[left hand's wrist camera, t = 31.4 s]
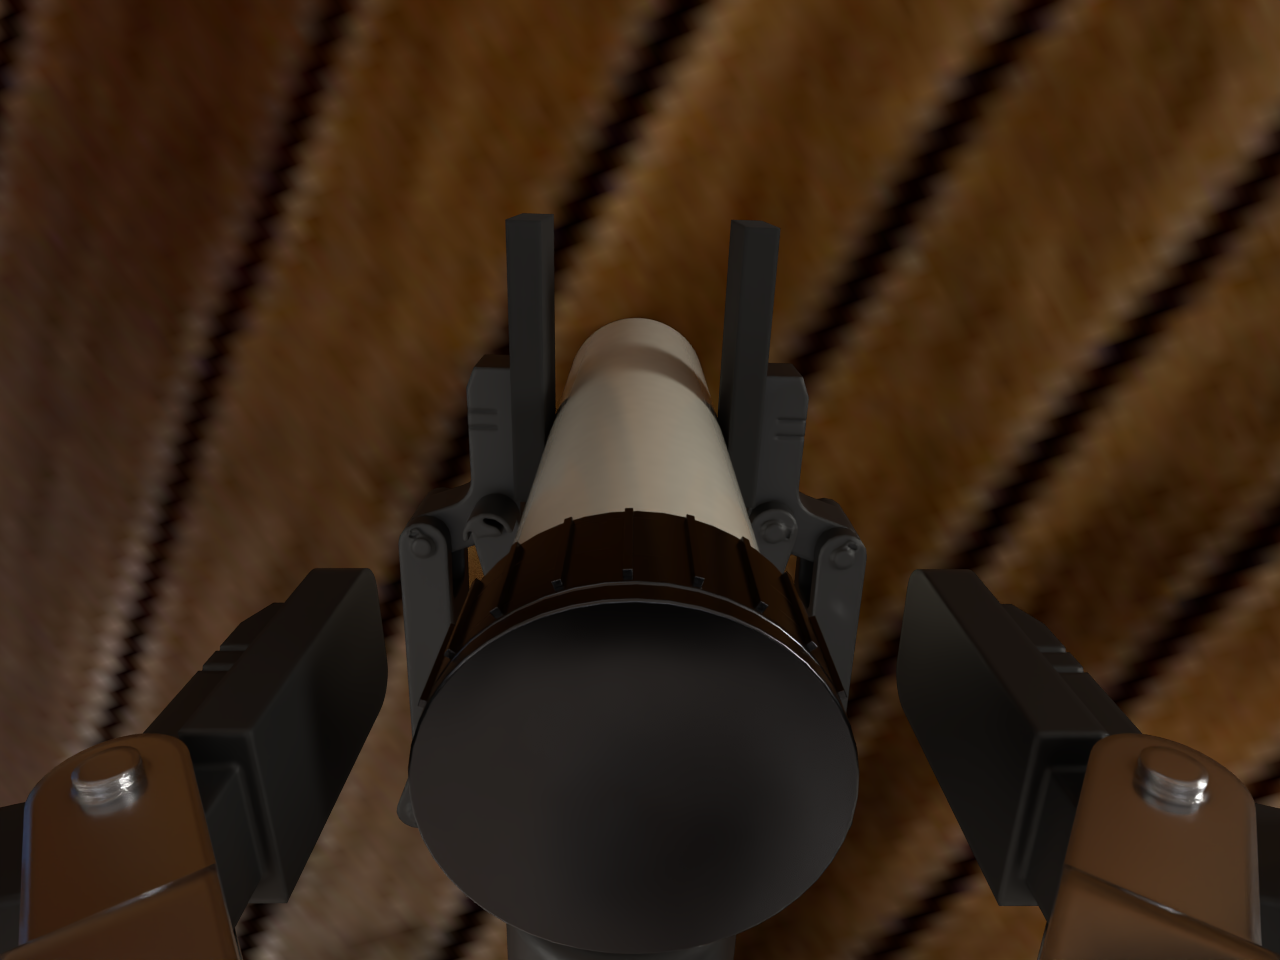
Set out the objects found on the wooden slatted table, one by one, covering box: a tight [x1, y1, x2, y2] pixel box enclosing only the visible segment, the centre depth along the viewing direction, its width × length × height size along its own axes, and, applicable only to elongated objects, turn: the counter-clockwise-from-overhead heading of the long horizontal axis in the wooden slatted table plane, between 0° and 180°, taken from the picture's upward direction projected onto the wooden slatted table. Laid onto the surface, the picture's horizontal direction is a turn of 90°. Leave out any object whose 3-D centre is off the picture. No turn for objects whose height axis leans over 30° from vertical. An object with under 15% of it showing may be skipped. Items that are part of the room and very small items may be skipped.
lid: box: [408, 508, 859, 954], centre depth 10 cm, size 5×5×2 cm
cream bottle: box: [513, 318, 760, 552], centre depth 18 cm, size 4×4×17 cm
